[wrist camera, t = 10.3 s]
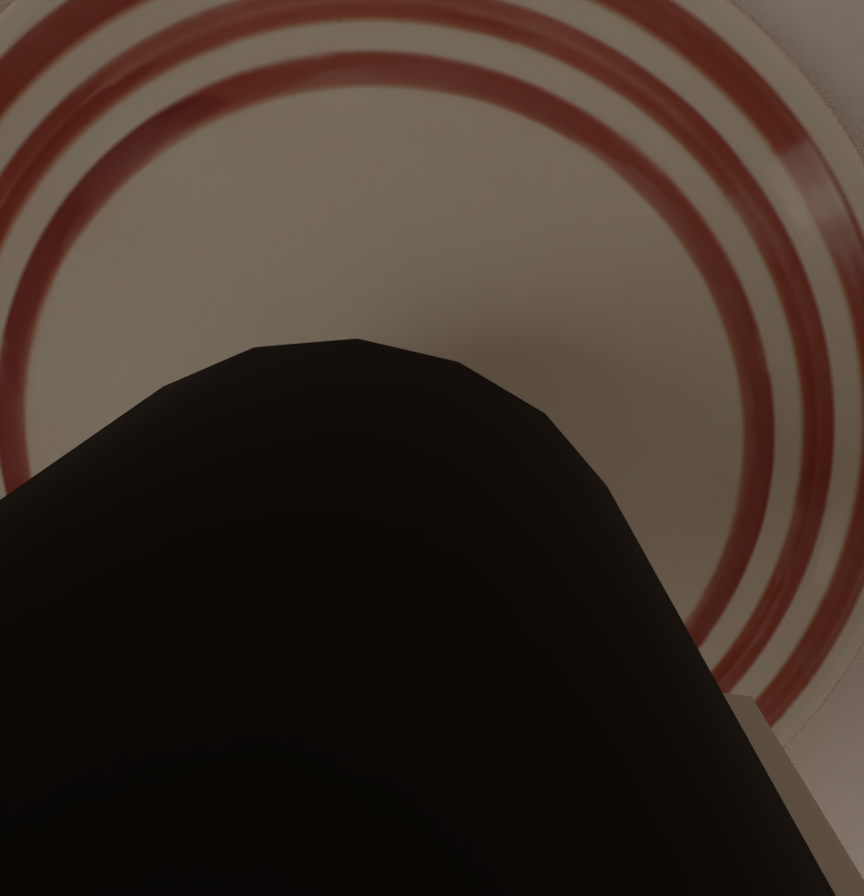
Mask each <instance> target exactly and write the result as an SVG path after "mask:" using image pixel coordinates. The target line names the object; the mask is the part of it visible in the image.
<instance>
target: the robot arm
mask: <svg viewBox="0 0 864 896" xmlns="http://www.w3.org/2000/svg"><path fill="white" fill-rule="evenodd" d="M723 695H724V696H725V698H726V700H727V702H728V703H729V705H730V707H731V709H732V711H733V712H734V714H735V716H736V718H737V720H738V721H739V723H740V725H741V727H742V729H743V730H744V732H745V734H746V736H747V738H748V739H749V741H750V743H751V745H752V746H753V748H754V750H755V752H756V754H757V755H758V757H759V759H760V761H761V763H762V764H763V766H764V768H765V770H766V772H767V773H768V775H769V777H770V779H771V781H772V782H773V784H774V786H775V788H776V789H777V791H778V793H779V795H780V797H781V798H782V800H783V802H784V804H785V806H786V807H787V809H788V811H789V813H790V815H791V816H792V818H793V820H794V822H795V824H796V825H797V827H798V829H799V831H800V832H801V834H802V836H803V838H804V840H805V841H806V843H807V845H808V847H809V849H810V850H811V852H812V854H813V856H814V858H815V859H816V861H817V863H818V865H819V867H820V868H821V870H822V872H823V874H824V876H825V877H826V879H827V881H828V883H829V884H830V886H831V888H832V890H833V892H834V893H835V895H836V896H864V880H863V878H862V876H861V875H860V873H859V872H858V870H857V868H856V867H855V865H854V863H853V862H852V860H851V858H850V857H849V855H848V854H847V852H846V850H845V849H844V847H843V845H842V844H841V842H840V840H839V839H838V837H837V836H836V834H835V832H834V831H833V829H832V827H831V826H830V824H829V822H828V821H827V819H826V818H825V816H824V814H823V813H822V811H821V809H820V808H819V806H818V804H817V803H816V801H815V800H814V798H813V796H812V795H811V793H810V791H809V790H808V788H807V786H806V785H805V783H804V782H803V780H802V778H801V777H800V775H799V773H798V772H797V770H796V768H795V767H794V765H793V764H792V762H791V760H790V759H789V757H788V755H787V754H786V752H785V750H784V749H783V747H782V746H781V744H780V742H779V741H778V739H777V737H776V736H775V734H774V732H773V731H772V729H771V728H770V726H769V724H768V723H767V721H766V719H765V718H764V716H763V714H762V713H761V711H760V710H759V708H758V706H757V705H756V703H755V701H754V700H753V698H752V696H746V695H736V694H727V693H723Z"/></svg>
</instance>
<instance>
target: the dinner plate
mask: <svg viewBox="0 0 864 896" xmlns="http://www.w3.org/2000/svg"><path fill="white" fill-rule="evenodd" d="M356 338H357V339H362V340H366V341H371V342H375V343H379V344H384V345H388V346H392V347H397V348H401V349H405V350H410V351H414V352H418V353H423V354H427V355H431V356H436V357H440V358H444V359H449V360H453V361H457V362H460V363H462V364H463V365H465V366H467V367H468V368H470V369H472V370H473V371H475V372H477V373H478V374H480V375H482V376H483V377H485V378H487V379H488V380H490V381H492V382H493V383H495V384H497V385H498V386H500V387H502V388H503V389H505V390H507V391H508V392H510V393H512V394H513V395H515V396H517V397H518V398H520V399H522V400H523V401H525V402H527V403H529V404H530V405H532V406H534V407H535V408H537V409H539V410H540V411H542V412H544V413H545V414H546V415H547V416H548V417H549V418H550V420H551V421H552V422H553V423H554V424H555V425H556V427H557V428H558V429H559V430H560V431H561V432H562V434H563V435H564V436H565V437H566V438H567V439H568V441H569V442H570V443H571V444H572V445H573V446H574V448H575V449H576V450H577V451H578V452H579V454H580V455H581V456H582V457H583V458H584V459H585V461H586V462H587V463H588V464H589V465H590V466H591V468H592V469H593V470H594V471H595V472H596V473H597V475H598V476H599V477H600V478H601V479H602V480H603V482H604V483H605V484H606V485H607V487H608V488H609V490H610V492H611V494H612V496H613V497H614V499H615V501H616V503H617V505H618V506H619V508H620V510H621V512H622V514H623V515H624V517H625V519H626V521H627V522H628V524H629V526H630V528H631V530H632V531H633V533H634V535H635V537H636V539H637V540H638V542H639V544H640V546H641V548H642V549H643V551H644V553H645V555H646V557H647V558H648V560H649V562H650V564H651V565H652V567H653V569H654V571H655V573H656V574H657V576H658V578H659V580H660V582H661V583H662V585H663V587H664V589H665V591H666V592H667V594H668V596H669V598H670V600H671V601H672V603H673V605H674V607H675V608H676V610H677V612H678V614H679V616H680V617H681V619H682V621H683V623H684V625H685V626H686V628H687V630H688V632H689V634H690V635H691V637H692V639H693V641H694V643H695V644H696V646H697V648H698V650H699V652H700V653H701V655H702V657H703V659H704V660H705V662H706V664H707V666H708V668H709V669H710V671H711V673H712V675H713V677H714V678H715V680H716V682H717V684H718V686H719V687H720V689H721V691H722V693H727V694H736V695H746V696H752V698H753V700H754V701H755V703H756V705H757V706H758V708H759V710H760V711H761V713H762V714H763V716H764V718H765V719H766V721H767V723H768V724H769V726H770V728H771V729H772V731H773V732H774V734H775V736H776V737H777V739H778V741H779V742H780V744H781V746H782V747H783V748H784V747H785V746H786V745H787V744H788V743H789V741H790V740H791V739H792V738H793V737H794V736H795V735H796V734H797V733H798V732H799V731H800V730H801V729H802V728H803V727H804V725H805V724H806V723H807V722H808V721H809V720H810V718H811V717H812V716H813V715H814V714H815V713H816V711H817V710H818V709H819V708H820V707H821V705H822V704H823V703H824V701H825V700H826V699H827V697H828V696H829V694H830V693H831V692H832V690H833V689H834V688H835V686H836V685H837V684H838V682H839V681H840V679H841V678H842V676H843V675H844V673H845V672H846V671H847V669H848V667H849V666H850V664H851V662H852V661H853V659H854V658H855V656H856V654H857V653H858V651H859V650H860V648H861V646H862V644H863V642H864V163H863V161H862V159H861V157H860V155H859V153H858V152H857V150H856V148H855V146H854V145H853V143H852V141H851V140H850V138H849V136H848V135H847V133H846V132H845V130H844V129H843V127H842V126H841V124H840V122H839V121H838V119H837V118H836V116H835V115H834V113H833V112H832V110H831V109H830V107H829V106H828V104H827V103H826V101H825V100H824V98H823V97H822V95H821V94H820V93H819V91H818V90H817V89H816V88H815V87H814V85H813V84H812V83H811V82H810V80H809V79H808V78H807V77H806V75H805V74H804V73H803V72H802V70H801V69H800V68H799V67H798V65H797V64H796V63H795V62H794V61H793V60H792V59H791V58H790V57H789V56H788V55H787V54H786V53H785V51H784V50H783V49H782V48H781V47H780V46H779V45H778V44H777V43H776V42H775V41H774V40H773V39H772V38H771V37H770V36H769V35H768V33H767V32H766V31H765V30H764V29H763V28H762V27H761V26H760V25H759V24H758V23H757V22H756V21H754V20H753V19H752V18H751V17H750V16H749V15H747V14H746V13H745V12H744V11H743V10H742V9H740V8H739V7H738V6H737V5H736V4H735V3H733V2H732V1H731V0H14V1H13V2H12V3H11V4H10V5H9V6H8V7H7V8H6V9H5V10H4V11H3V12H2V13H1V14H0V499H2V498H3V497H5V496H6V495H7V494H9V493H10V492H12V491H13V490H15V489H16V488H18V487H19V486H20V485H22V484H23V483H25V482H26V481H28V480H29V479H30V478H32V477H33V476H35V475H36V474H38V473H39V472H41V471H42V470H43V469H45V468H46V467H48V466H49V465H51V464H52V463H54V462H55V461H56V460H58V459H59V458H61V457H62V456H64V455H65V454H66V453H68V452H69V451H71V450H72V449H74V448H75V447H77V446H78V445H79V444H81V443H82V442H84V441H85V440H87V439H88V438H90V437H91V436H92V435H94V434H95V433H97V432H98V431H100V430H101V429H102V428H104V427H105V426H107V425H108V424H110V423H111V422H113V421H114V420H115V419H117V418H118V417H120V416H121V415H123V414H124V413H126V412H127V411H128V410H130V409H131V408H133V407H134V406H136V405H137V404H138V403H140V402H141V401H143V400H144V399H146V398H147V397H149V396H150V395H151V394H153V393H154V392H156V391H157V390H159V389H160V388H162V387H163V386H165V385H168V384H170V383H172V382H175V381H177V380H179V379H181V378H184V377H186V376H188V375H191V374H193V373H195V372H198V371H200V370H202V369H205V368H207V367H209V366H212V365H214V364H216V363H218V362H221V361H223V360H225V359H228V358H230V357H232V356H235V355H237V354H239V353H242V352H244V351H246V350H248V349H251V348H253V347H262V346H274V345H285V344H297V343H309V342H321V341H332V340H344V339H356Z"/></svg>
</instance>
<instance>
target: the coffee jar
mask: <svg viewBox="0 0 864 896" xmlns="http://www.w3.org/2000/svg"><path fill="white" fill-rule="evenodd" d="M0 896H836V895H835V893H834V892H833V890H832V888H831V886H830V884H829V883H828V881H827V879H826V877H825V876H824V874H823V872H822V870H821V868H820V867H819V865H818V863H817V861H816V859H815V858H814V856H813V854H812V852H811V850H810V849H809V847H808V845H807V843H806V841H805V840H804V838H803V836H802V834H801V832H800V831H799V829H798V827H797V825H796V824H795V822H794V820H793V818H792V816H791V815H790V813H789V811H788V809H787V807H786V806H785V804H784V802H783V800H782V798H781V797H780V795H779V793H778V791H777V789H776V788H775V786H774V784H773V782H772V781H771V779H770V777H769V775H768V773H767V772H766V770H765V768H764V766H763V764H762V763H761V761H760V759H759V757H758V755H757V754H756V752H755V750H754V748H753V746H752V745H751V743H750V741H749V739H748V738H747V736H746V734H745V732H744V730H743V729H742V727H741V725H740V723H739V721H738V720H737V718H736V716H735V714H734V712H733V711H732V709H731V707H730V705H729V703H728V702H727V700H726V698H725V696H724V695H723V693H722V691H721V689H720V687H719V686H718V684H717V682H716V680H715V678H714V677H713V675H712V673H711V671H710V669H709V668H708V666H707V664H706V662H705V660H704V659H703V657H702V655H701V653H700V652H699V650H698V648H697V646H696V644H695V643H694V641H693V639H692V637H691V635H690V634H689V632H688V630H687V628H686V626H685V625H684V623H683V621H682V619H681V617H680V616H679V614H678V612H677V610H676V608H675V607H674V605H673V603H672V601H671V600H670V598H669V596H668V594H667V592H666V591H665V589H664V587H663V585H662V583H661V582H660V580H659V578H658V576H657V574H656V573H655V571H654V569H653V567H652V565H651V564H650V562H649V560H648V558H647V557H646V555H645V553H644V551H643V549H642V548H641V546H640V544H639V542H638V540H637V539H636V537H635V535H634V533H633V531H632V530H631V528H630V526H629V524H628V522H627V521H626V519H625V517H624V515H623V514H622V512H621V510H620V508H619V506H618V505H617V503H616V501H615V499H614V497H613V496H612V494H611V492H610V490H609V488H608V487H607V485H606V484H605V483H604V482H603V480H602V479H601V478H600V477H599V476H598V475H597V473H596V472H595V471H594V470H593V469H592V468H591V466H590V465H589V464H588V463H587V462H586V461H585V459H584V458H583V457H582V456H581V455H580V454H579V452H578V451H577V450H576V449H575V448H574V446H573V445H572V444H571V443H570V442H569V441H568V439H567V438H566V437H565V436H564V435H563V434H562V432H561V431H560V430H559V429H558V428H557V427H556V425H555V424H554V423H553V422H552V421H551V420H550V418H549V417H548V416H547V415H546V414H545V413H544V412H542V411H540V410H539V409H537V408H535V407H534V406H532V405H530V404H529V403H527V402H525V401H523V400H522V399H520V398H518V397H517V396H515V395H513V394H512V393H510V392H508V391H507V390H505V389H503V388H502V387H500V386H498V385H497V384H495V383H493V382H492V381H490V380H488V379H487V378H485V377H483V376H482V375H480V374H478V373H477V372H475V371H473V370H472V369H470V368H468V367H467V366H465V365H463V364H462V363H460V362H457V361H453V360H449V359H444V358H440V357H436V356H431V355H427V354H423V353H418V352H414V351H410V350H405V349H401V348H397V347H392V346H388V345H384V344H379V343H375V342H371V341H366V340H362V339H357V338H356V339H344V340H332V341H321V342H309V343H297V344H285V345H274V346H262V347H253V348H251V349H248V350H246V351H244V352H242V353H239V354H237V355H235V356H232V357H230V358H228V359H225V360H223V361H221V362H218V363H216V364H214V365H212V366H209V367H207V368H205V369H202V370H200V371H198V372H195V373H193V374H191V375H188V376H186V377H184V378H181V379H179V380H177V381H175V382H172V383H170V384H168V385H165V386H163V387H162V388H160V389H159V390H157V391H156V392H154V393H153V394H151V395H150V396H149V397H147V398H146V399H144V400H143V401H141V402H140V403H138V404H137V405H136V406H134V407H133V408H131V409H130V410H128V411H127V412H126V413H124V414H123V415H121V416H120V417H118V418H117V419H115V420H114V421H113V422H111V423H110V424H108V425H107V426H105V427H104V428H102V429H101V430H100V431H98V432H97V433H95V434H94V435H92V436H91V437H90V438H88V439H87V440H85V441H84V442H82V443H81V444H79V445H78V446H77V447H75V448H74V449H72V450H71V451H69V452H68V453H66V454H65V455H64V456H62V457H61V458H59V459H58V460H56V461H55V462H54V463H52V464H51V465H49V466H48V467H46V468H45V469H43V470H42V471H41V472H39V473H38V474H36V475H35V476H33V477H32V478H30V479H29V480H28V481H26V482H25V483H23V484H22V485H20V486H19V487H18V488H16V489H15V490H13V491H12V492H10V493H9V494H7V495H6V496H5V497H3V498H2V499H0Z"/></svg>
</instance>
